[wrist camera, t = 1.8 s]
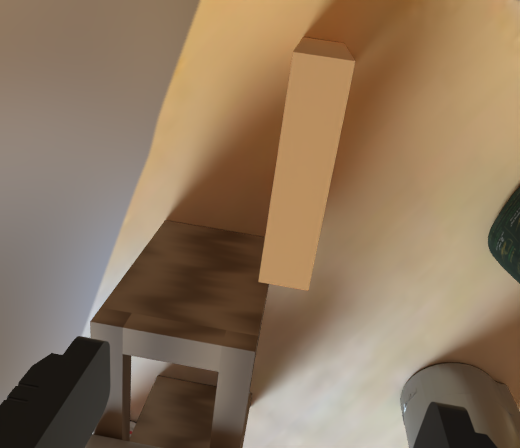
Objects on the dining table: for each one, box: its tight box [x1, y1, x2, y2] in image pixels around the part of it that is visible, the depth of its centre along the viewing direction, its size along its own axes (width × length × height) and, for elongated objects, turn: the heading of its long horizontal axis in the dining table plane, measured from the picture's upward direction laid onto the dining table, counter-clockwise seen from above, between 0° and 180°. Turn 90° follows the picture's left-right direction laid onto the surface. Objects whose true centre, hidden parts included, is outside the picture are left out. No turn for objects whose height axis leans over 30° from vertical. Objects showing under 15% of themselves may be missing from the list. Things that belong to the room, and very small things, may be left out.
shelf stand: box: [85, 220, 269, 448], centre depth 38 cm, size 10×20×18 cm, turn 172°
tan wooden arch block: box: [258, 37, 355, 291], centre depth 31 cm, size 3×13×13 cm, turn 173°
